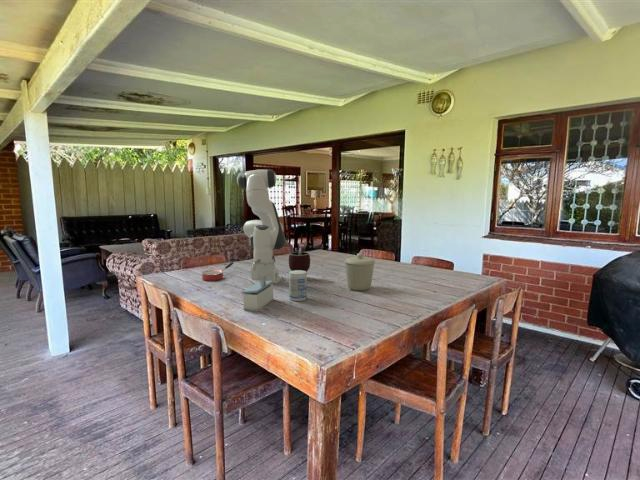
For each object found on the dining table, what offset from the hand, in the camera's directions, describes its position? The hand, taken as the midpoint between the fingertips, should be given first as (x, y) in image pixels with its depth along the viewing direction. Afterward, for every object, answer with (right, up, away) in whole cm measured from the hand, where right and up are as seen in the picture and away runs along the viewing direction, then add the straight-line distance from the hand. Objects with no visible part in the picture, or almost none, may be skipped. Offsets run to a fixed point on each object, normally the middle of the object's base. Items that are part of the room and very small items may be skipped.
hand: (263, 285), depth 180 cm
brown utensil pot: (+15, -3, +54) cm, 56 cm away
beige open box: (-2, -10, +2) cm, 10 cm away
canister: (+51, -6, +32) cm, 61 cm away
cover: (-3, -1, +1) cm, 3 cm away
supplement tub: (+17, -9, +12) cm, 22 cm away
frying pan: (-40, -2, +64) cm, 76 cm away
